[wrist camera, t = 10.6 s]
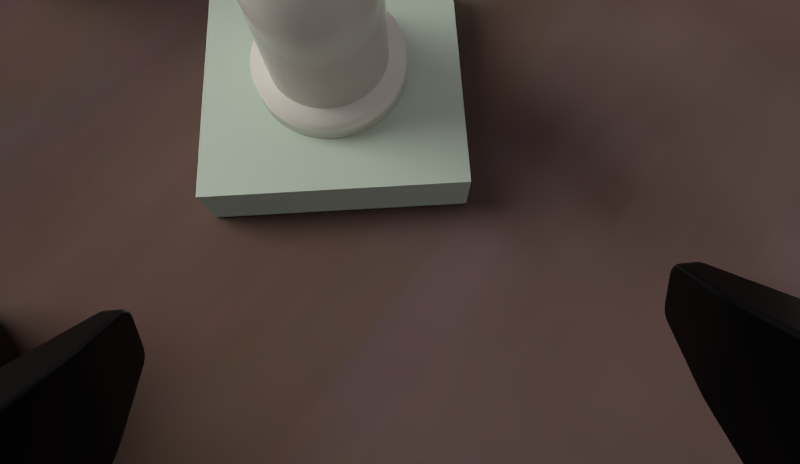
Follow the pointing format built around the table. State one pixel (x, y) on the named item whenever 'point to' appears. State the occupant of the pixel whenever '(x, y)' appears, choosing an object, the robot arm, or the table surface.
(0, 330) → the mug
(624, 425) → the table surface
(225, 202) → the block
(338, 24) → the white rounded piece
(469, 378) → the table surface
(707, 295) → the robot arm
